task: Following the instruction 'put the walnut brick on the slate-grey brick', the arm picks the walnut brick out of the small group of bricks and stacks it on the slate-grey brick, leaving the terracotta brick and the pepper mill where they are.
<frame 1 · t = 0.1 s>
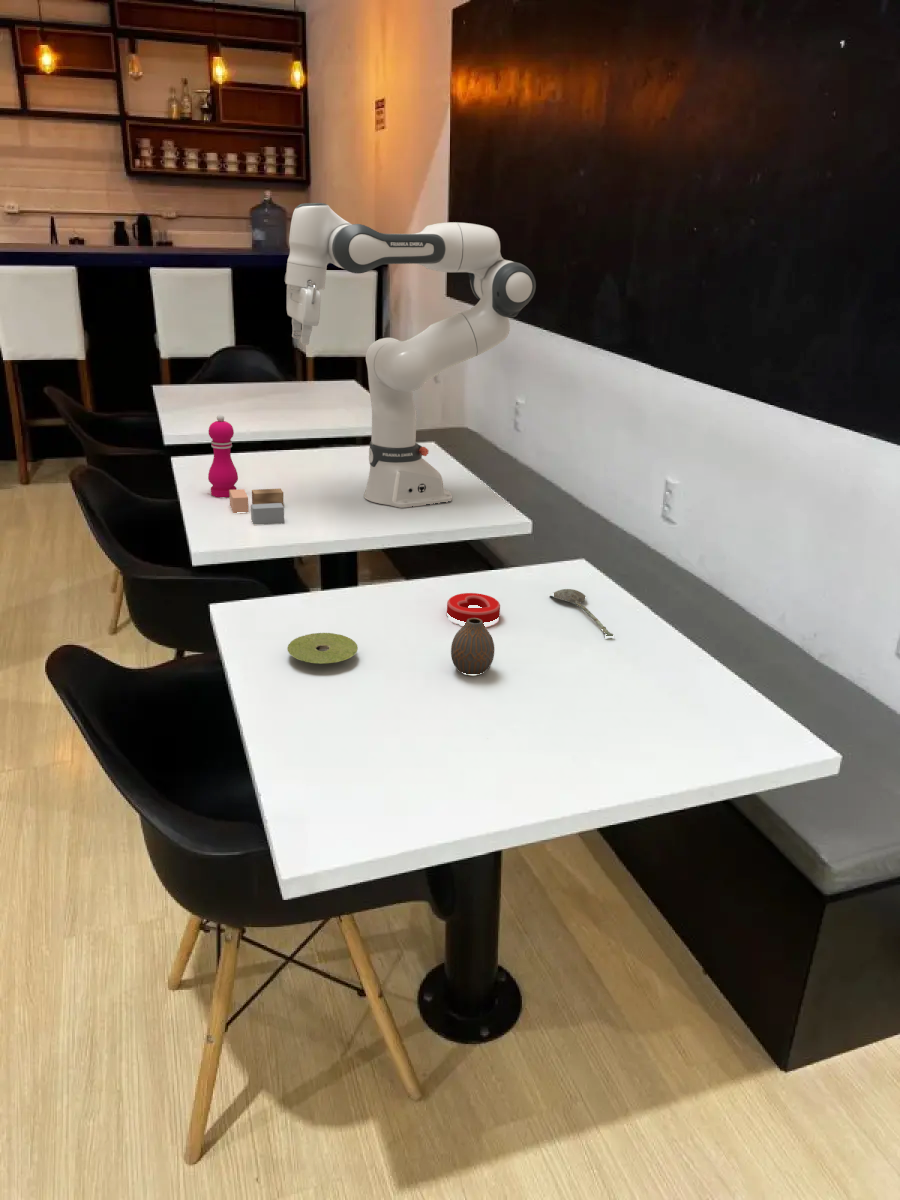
hand: (300, 341, 212), 39 cm above the table, tool pointing down, fingers open, 8 cm apart
terracotta brick: (239, 509, 219), on the table
slate-grey brick: (267, 522, 211), on the table
pepper mill: (223, 495, 230), on the table
soupspoon: (582, 618, 171), on the table
vase: (471, 671, 147), on the table
walnut brick: (267, 507, 222), on the table
mat: (322, 658, 148), on the table
decorative ornament: (472, 619, 167), on the table
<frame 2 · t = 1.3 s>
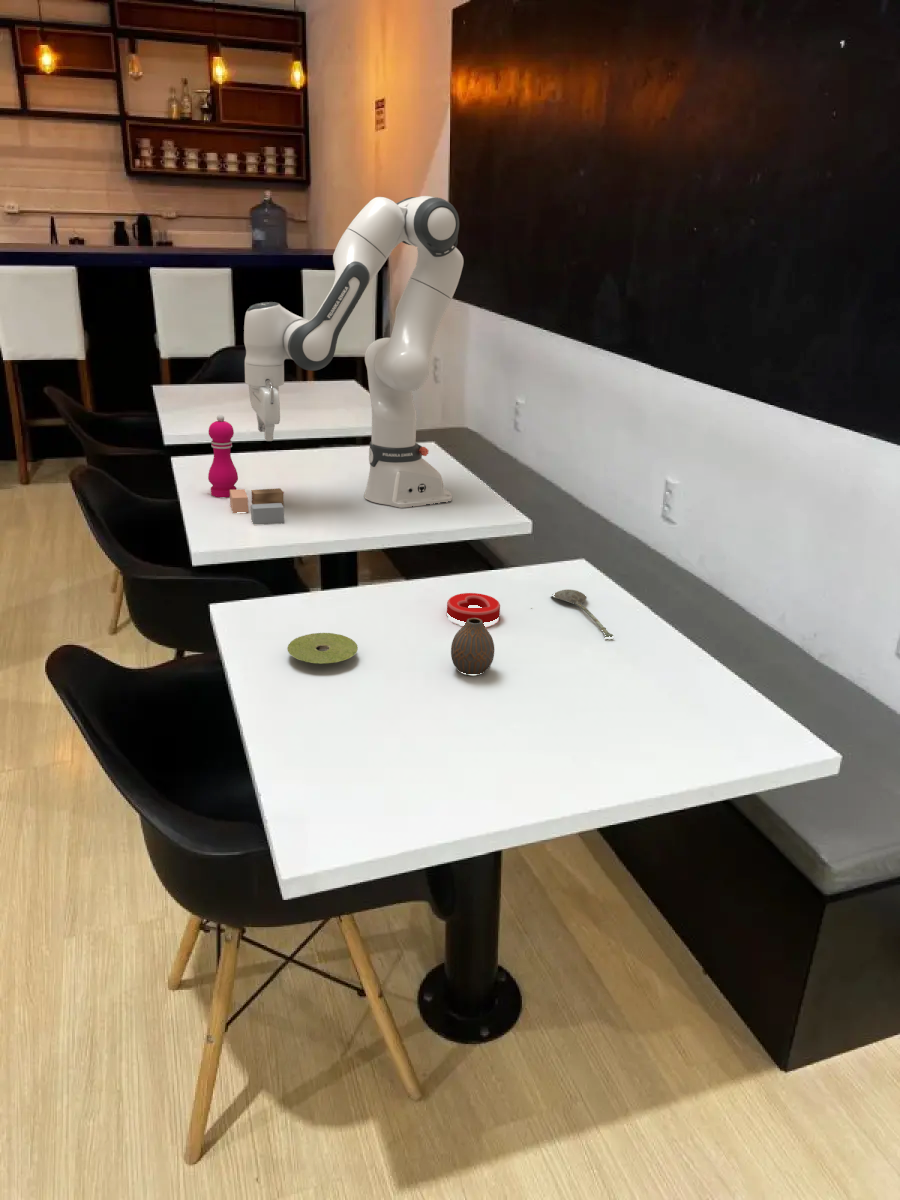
hand: (265, 435, 216), 17 cm above the table, tool pointing down, fingers open, 8 cm apart
nothing on the table moved.
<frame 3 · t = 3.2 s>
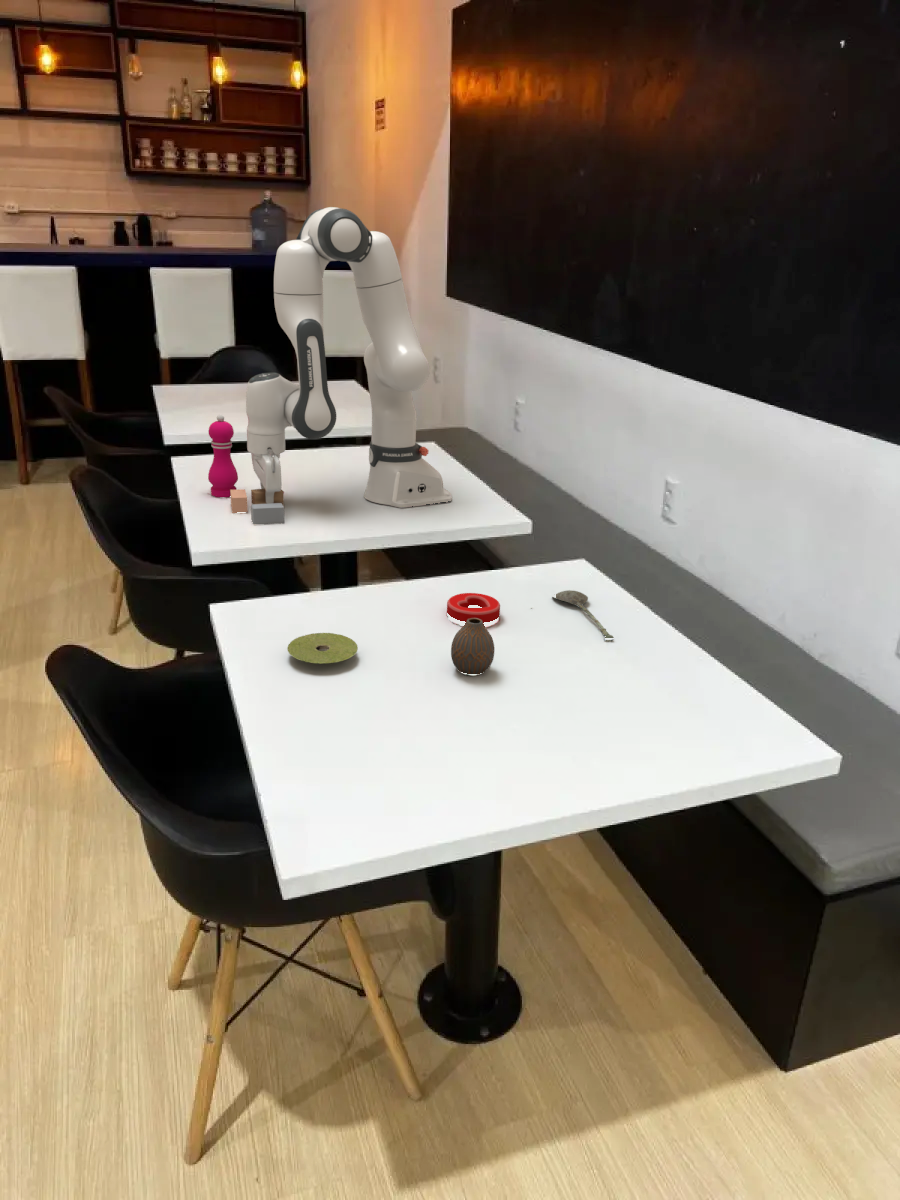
hand: (267, 499, 222), 2 cm above the table, tool pointing down, fingers closed on walnut brick, 4 cm apart
walnut brick: (267, 506, 222), on the table, touching gripper
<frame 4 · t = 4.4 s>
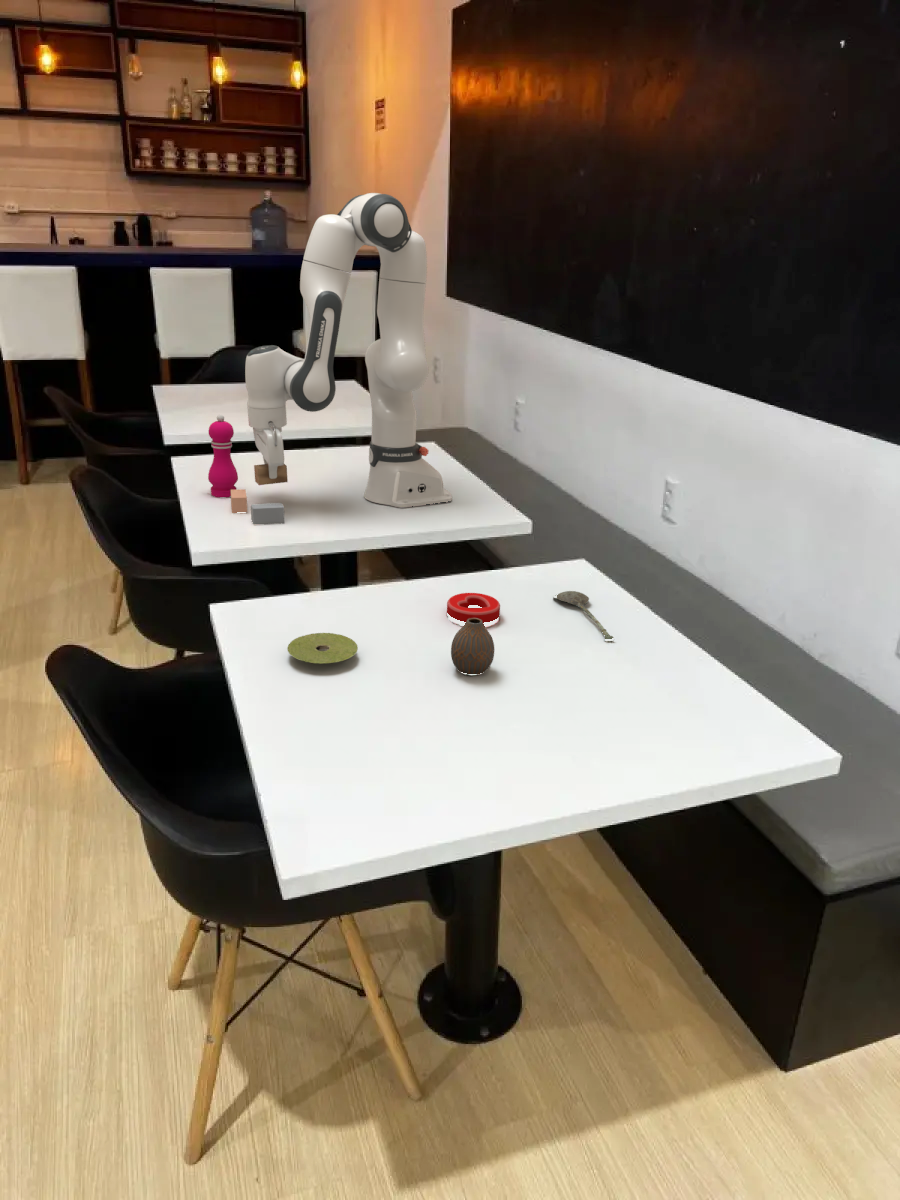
hand: (271, 475, 220), 8 cm above the table, tool pointing down, fingers closed on walnut brick, 4 cm apart
walnut brick: (271, 481, 220), point 6 cm above the table, touching gripper
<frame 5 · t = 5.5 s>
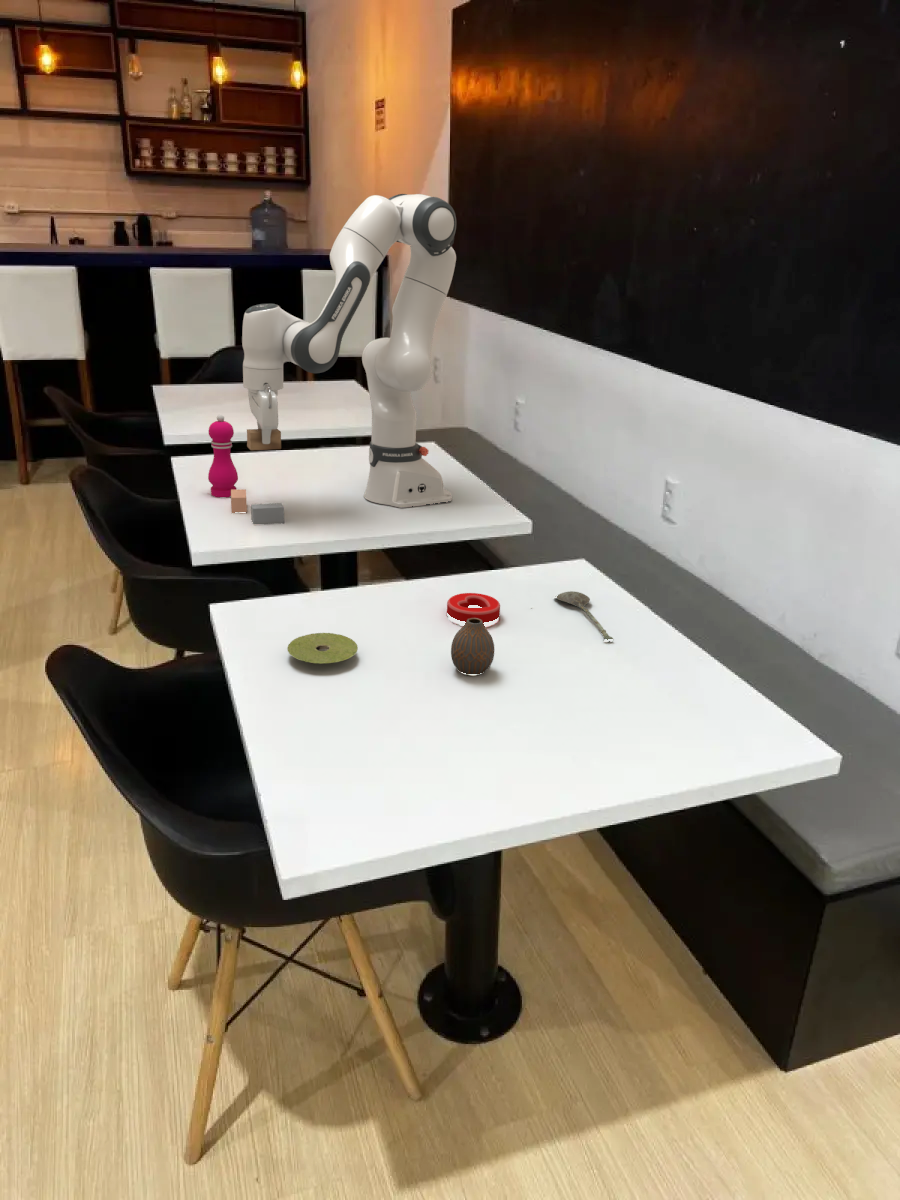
hand: (264, 440, 210), 17 cm above the table, tool pointing down, fingers closed on walnut brick, 4 cm apart
walnut brick: (264, 447, 211), point 16 cm above the table, touching gripper
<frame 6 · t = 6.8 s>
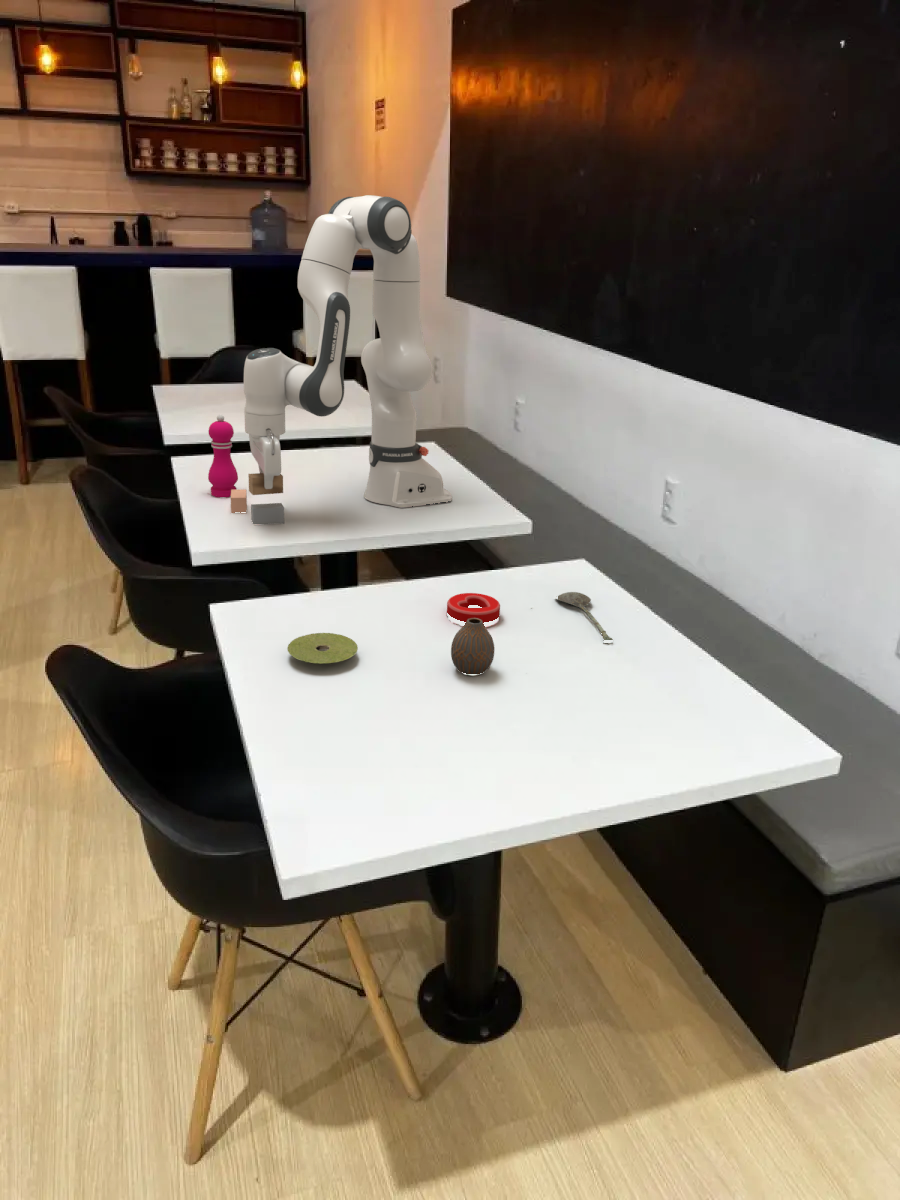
hand: (266, 485, 208), 9 cm above the table, tool pointing down, fingers closed on walnut brick, 4 cm apart
walnut brick: (266, 492, 208), point 7 cm above the table, touching gripper
when the fingers open (7 cm above the table, at t = 7.5 s): walnut brick moves 1 cm, point 4 cm above the table.
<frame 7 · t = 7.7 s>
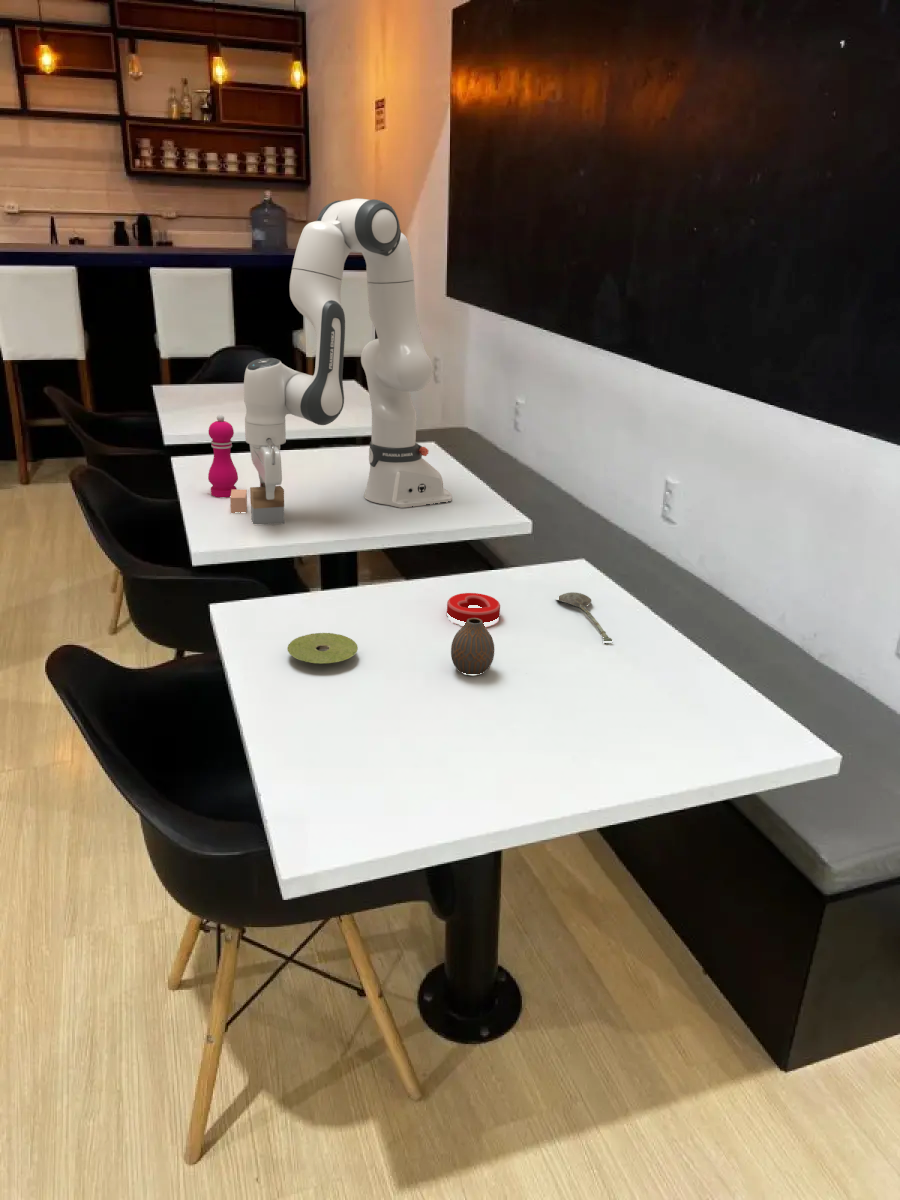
hand: (267, 494, 209), 7 cm above the table, tool pointing down, fingers open, 6 cm apart
walnut brick: (267, 505, 210), point 4 cm above the table
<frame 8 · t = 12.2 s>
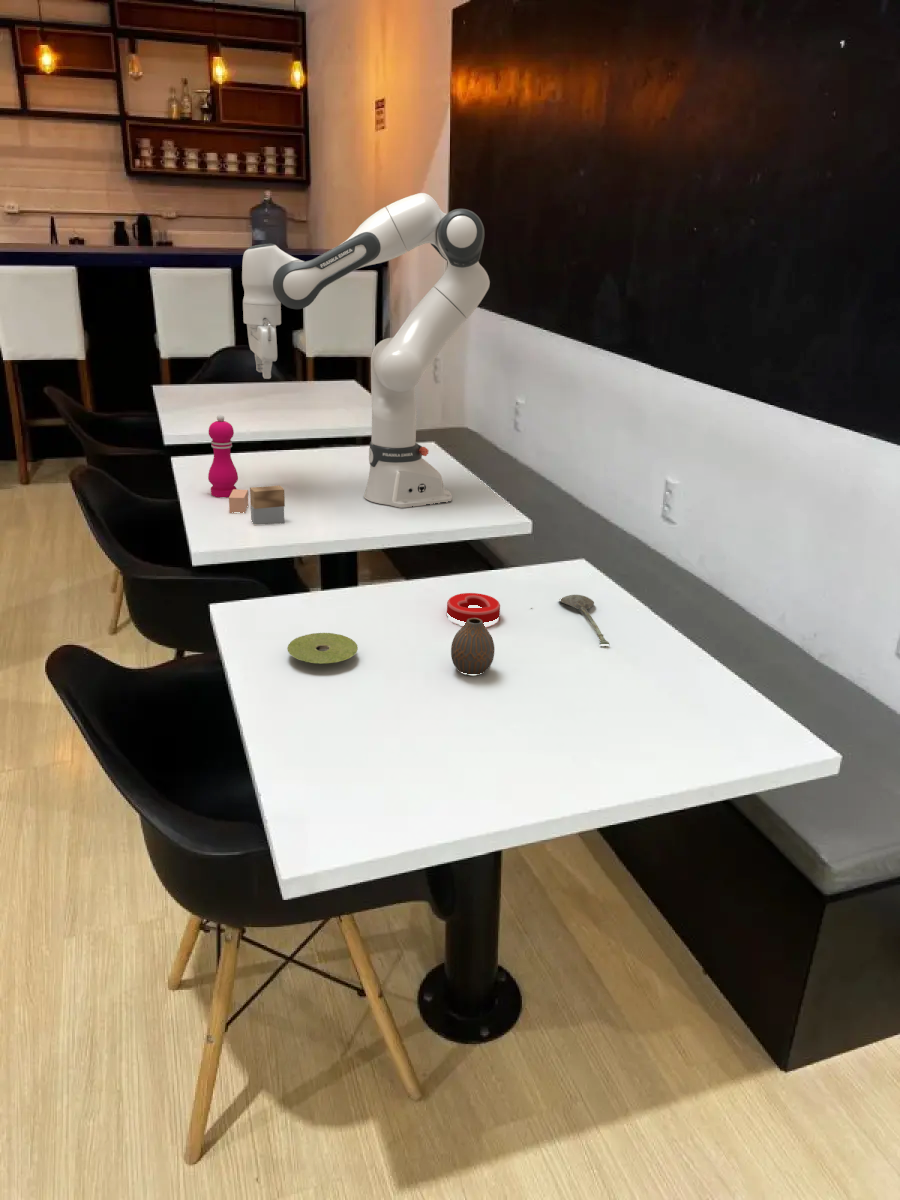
hand: (263, 375, 224), 29 cm above the table, tool pointing down, fingers open, 8 cm apart
slate-grey brick: (267, 522, 211), on the table, touching walnut brick
soupspoon: (585, 624, 168), on the table
walnut brick: (267, 505, 210), point 4 cm above the table, touching slate-grey brick
everything else where it was.
at the end: walnut brick 0.1 cm off-centre on the slate-grey brick, point 4.0 cm above the slate-grey brick's base; terracotta brick moved 0.2 cm from its start; slate-grey brick moved 0.2 cm from its start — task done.
